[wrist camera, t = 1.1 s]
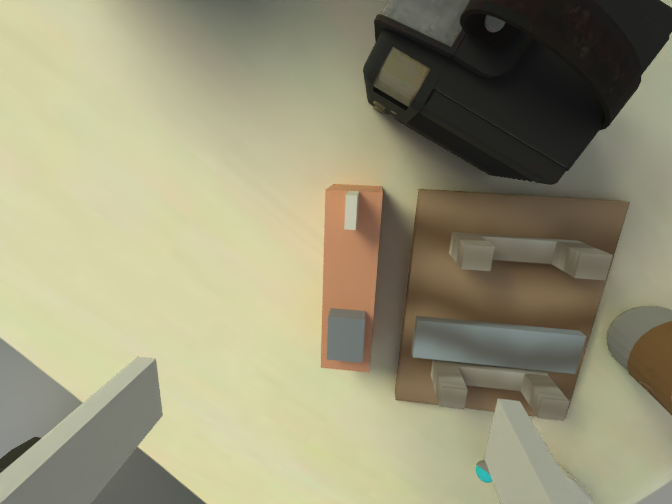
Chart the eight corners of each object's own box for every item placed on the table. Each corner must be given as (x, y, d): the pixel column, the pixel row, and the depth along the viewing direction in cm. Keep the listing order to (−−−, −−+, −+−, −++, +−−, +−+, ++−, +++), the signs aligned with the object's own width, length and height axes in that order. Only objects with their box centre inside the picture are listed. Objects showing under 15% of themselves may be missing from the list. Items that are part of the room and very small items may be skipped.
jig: (418, 189, 30) (428, 196, 25) (619, 200, 28) (676, 210, 23) (394, 392, 36) (398, 433, 31) (558, 410, 35) (592, 457, 29)
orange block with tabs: (334, 183, 31) (319, 193, 23) (381, 186, 31) (383, 196, 22) (328, 335, 35) (315, 389, 27) (369, 339, 35) (368, 395, 27)
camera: (426, -36, 25) (495, -283, 11) (578, 58, 26) (829, -62, 12) (356, 100, 29) (338, 44, 14) (492, 181, 29) (607, 204, 15)
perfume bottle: (557, 554, 35) (450, 500, 37) (571, 473, 38) (471, 425, 39) (617, 603, 28) (481, 533, 29) (630, 497, 31) (504, 437, 32)
